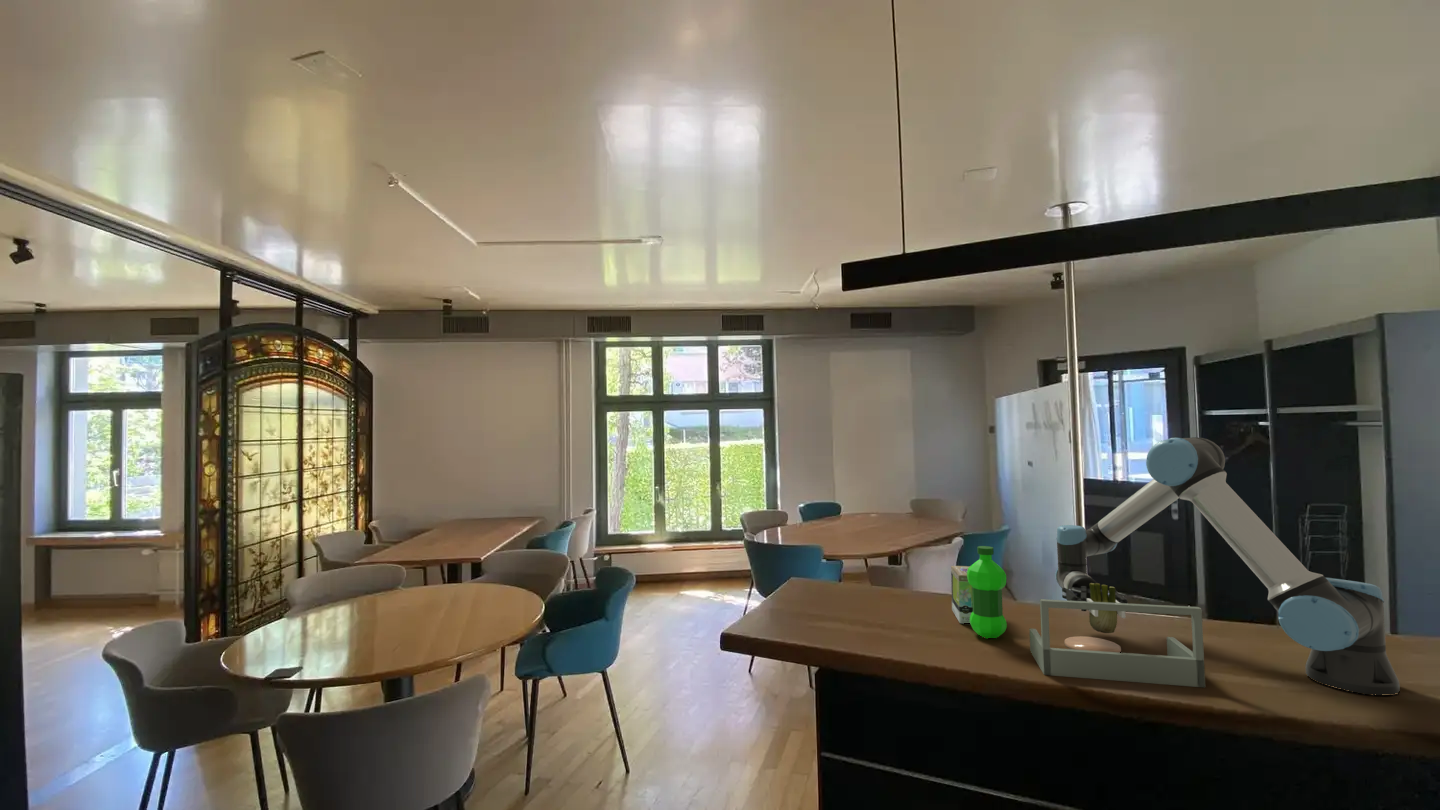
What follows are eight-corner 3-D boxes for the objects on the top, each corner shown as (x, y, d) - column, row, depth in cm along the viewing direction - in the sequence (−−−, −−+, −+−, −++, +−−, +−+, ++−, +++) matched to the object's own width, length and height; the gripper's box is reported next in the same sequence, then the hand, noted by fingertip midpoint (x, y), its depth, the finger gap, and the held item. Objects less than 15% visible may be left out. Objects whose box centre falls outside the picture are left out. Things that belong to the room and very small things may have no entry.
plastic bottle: (972, 640, 177) (969, 550, 178) (967, 629, 187) (964, 543, 188) (1011, 643, 174) (1007, 551, 175) (1003, 631, 184) (1000, 544, 186)
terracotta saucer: (1126, 646, 170) (1126, 643, 170) (1113, 659, 161) (1113, 656, 161) (1073, 636, 179) (1073, 633, 179) (1057, 647, 170) (1057, 644, 170)
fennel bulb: (1121, 634, 156) (1118, 585, 157) (1103, 636, 156) (1101, 587, 156) (1102, 627, 162) (1100, 580, 163) (1085, 629, 161) (1083, 581, 162)
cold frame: (1030, 651, 168) (1027, 584, 168) (1174, 661, 159) (1171, 590, 159) (1044, 674, 152) (1041, 600, 152) (1205, 687, 143) (1201, 608, 143)
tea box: (994, 625, 190) (992, 575, 190) (959, 624, 192) (957, 574, 192) (984, 611, 205) (982, 565, 205) (951, 610, 207) (949, 564, 207)
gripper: (1119, 603, 174) (1153, 629, 151) (1046, 600, 179) (1068, 624, 156) (1118, 576, 174) (1152, 598, 152) (1045, 573, 179) (1067, 594, 157)
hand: (1109, 611), depth 154 cm, fingers closed on fennel bulb, 5 cm apart
